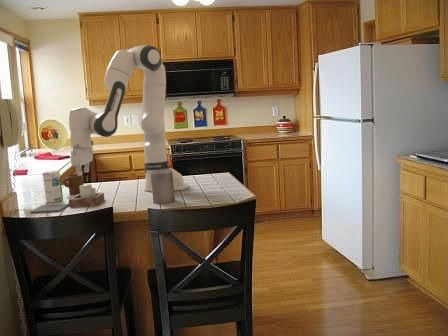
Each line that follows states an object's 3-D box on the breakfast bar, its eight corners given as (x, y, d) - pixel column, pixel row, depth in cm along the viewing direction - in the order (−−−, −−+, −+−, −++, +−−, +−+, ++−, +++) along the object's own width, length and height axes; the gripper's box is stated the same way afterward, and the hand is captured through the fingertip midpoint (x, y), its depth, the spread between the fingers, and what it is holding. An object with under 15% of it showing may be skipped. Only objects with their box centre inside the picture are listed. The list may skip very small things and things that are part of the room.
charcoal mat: (69, 205, 227) (69, 203, 227) (60, 211, 215) (59, 209, 215) (41, 207, 227) (41, 205, 227) (30, 213, 215) (30, 211, 215)
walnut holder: (104, 199, 235) (103, 192, 234) (96, 205, 222) (95, 197, 222) (78, 201, 235) (77, 194, 235) (69, 207, 223) (68, 199, 222)
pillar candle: (162, 198, 228) (158, 166, 226) (179, 199, 223) (176, 166, 221) (148, 203, 220) (145, 170, 218) (166, 204, 215) (163, 170, 213)
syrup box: (53, 202, 236) (50, 172, 234) (45, 201, 239) (42, 172, 237) (63, 200, 241) (60, 170, 239) (55, 199, 244) (51, 170, 242)
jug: (98, 201, 231) (96, 183, 230) (94, 204, 226) (92, 185, 225) (83, 202, 232) (81, 184, 230) (79, 205, 226) (77, 186, 225)
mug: (71, 196, 249) (68, 178, 247) (59, 196, 252) (57, 177, 251) (87, 191, 259) (85, 174, 258) (76, 191, 263) (74, 173, 261)
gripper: (80, 145, 214) (82, 177, 216) (94, 141, 234) (96, 170, 236) (65, 146, 214) (68, 177, 216) (81, 141, 235) (83, 170, 237)
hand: (83, 173), depth 226 cm, fingers open, 8 cm apart
